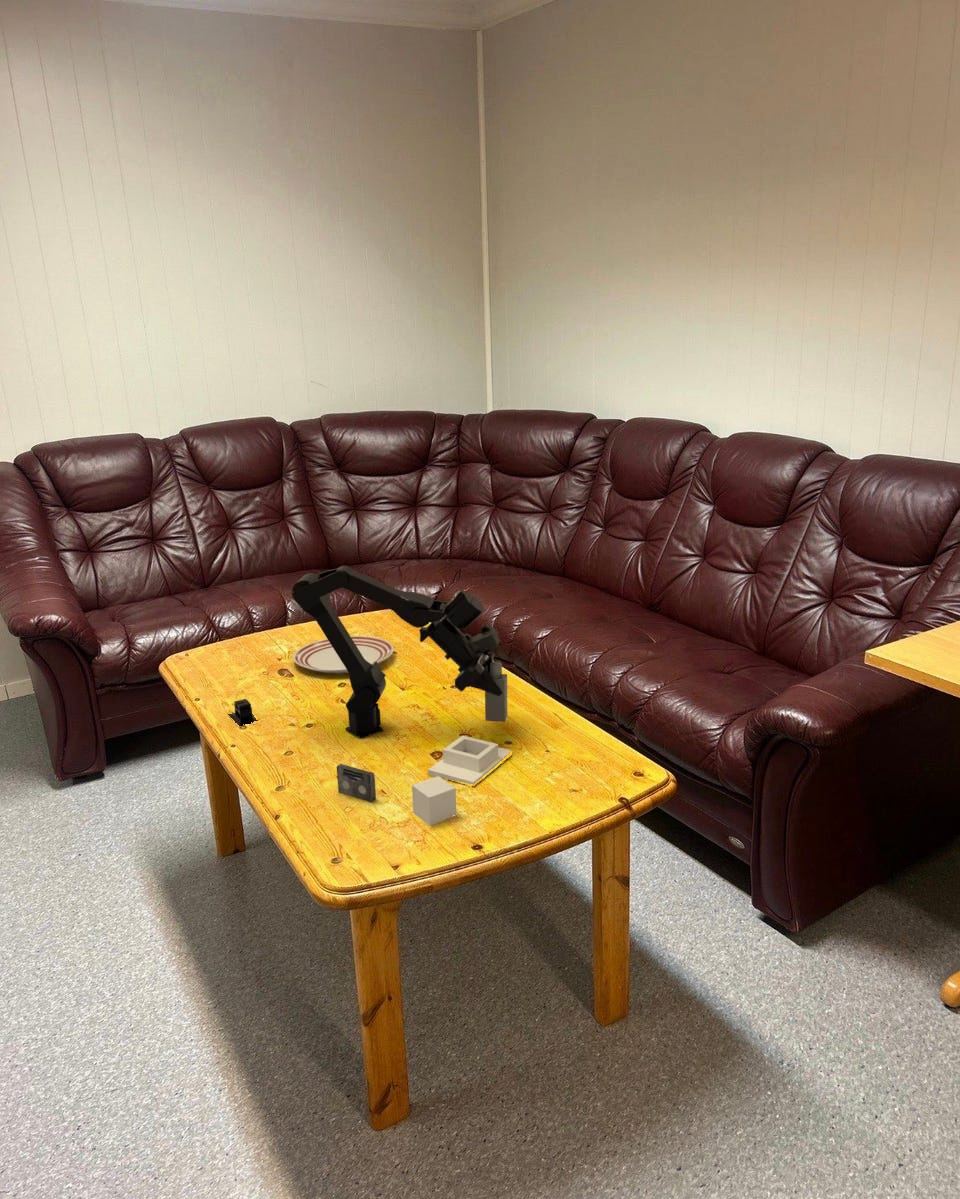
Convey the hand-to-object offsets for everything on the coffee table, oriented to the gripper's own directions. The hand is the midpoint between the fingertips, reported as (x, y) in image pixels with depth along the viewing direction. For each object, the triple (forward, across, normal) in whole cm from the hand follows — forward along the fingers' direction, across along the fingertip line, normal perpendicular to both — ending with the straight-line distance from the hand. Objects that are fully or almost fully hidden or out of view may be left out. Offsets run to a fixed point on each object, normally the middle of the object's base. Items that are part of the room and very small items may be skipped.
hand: (502, 691), depth 205 cm
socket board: (+5, -14, +11) cm, 19 cm away
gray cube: (+3, -35, +13) cm, 37 cm away
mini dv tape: (-9, -31, +25) cm, 41 cm away
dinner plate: (-28, +40, +45) cm, 66 cm away
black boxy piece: (-36, +1, +53) cm, 64 cm away
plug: (+4, 0, +6) cm, 7 cm away
